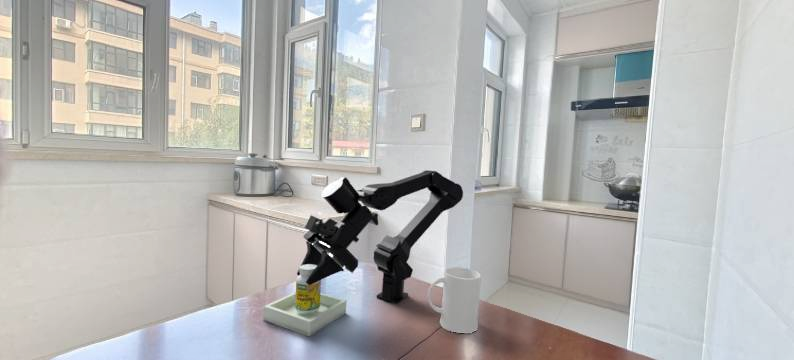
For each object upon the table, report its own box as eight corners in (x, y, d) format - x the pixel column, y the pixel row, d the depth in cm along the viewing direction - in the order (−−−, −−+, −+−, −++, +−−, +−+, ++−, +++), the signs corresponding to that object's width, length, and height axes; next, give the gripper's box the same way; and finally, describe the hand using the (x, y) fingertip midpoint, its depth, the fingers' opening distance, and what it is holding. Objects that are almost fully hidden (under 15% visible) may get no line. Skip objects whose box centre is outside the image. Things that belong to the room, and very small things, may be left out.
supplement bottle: (322, 304, 78) (323, 263, 78) (317, 314, 73) (319, 271, 72) (298, 303, 78) (300, 262, 77) (292, 313, 73) (293, 270, 72)
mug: (427, 332, 72) (431, 277, 71) (423, 314, 80) (427, 264, 80) (482, 335, 72) (486, 280, 71) (472, 317, 81) (476, 267, 80)
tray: (303, 300, 84) (304, 288, 84) (345, 313, 78) (346, 300, 78) (263, 319, 72) (264, 306, 72) (309, 336, 67) (309, 321, 67)
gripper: (312, 198, 84) (265, 246, 78) (347, 209, 69) (292, 270, 63) (340, 227, 89) (297, 274, 83) (378, 243, 74) (329, 303, 68)
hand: (302, 279), depth 74 cm, fingers closed on supplement bottle, 5 cm apart
